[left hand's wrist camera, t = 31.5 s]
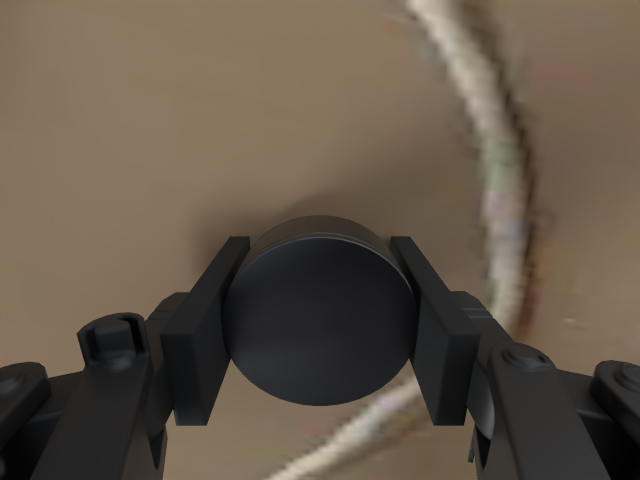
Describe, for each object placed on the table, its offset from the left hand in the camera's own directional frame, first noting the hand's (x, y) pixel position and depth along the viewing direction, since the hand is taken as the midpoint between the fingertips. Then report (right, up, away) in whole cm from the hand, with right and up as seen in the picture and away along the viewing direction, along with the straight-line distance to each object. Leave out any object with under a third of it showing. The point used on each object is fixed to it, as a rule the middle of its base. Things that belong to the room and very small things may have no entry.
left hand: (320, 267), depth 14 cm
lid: (0, -1, -4) cm, 4 cm away
